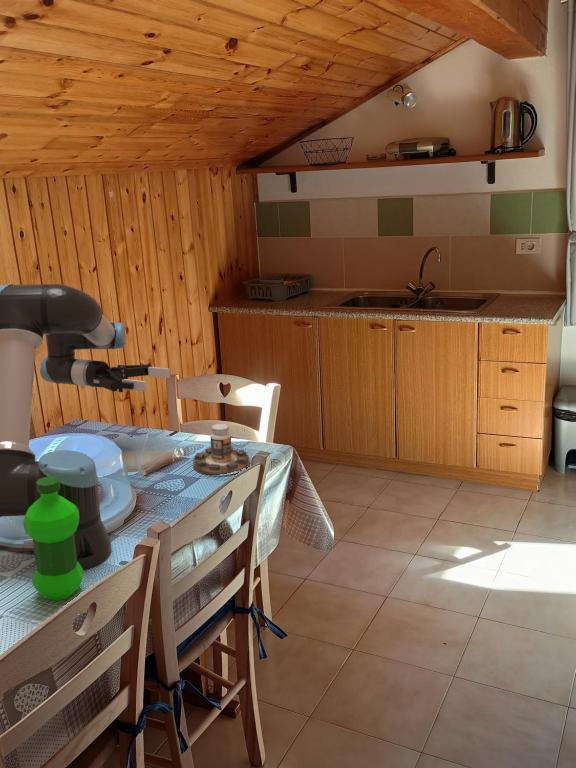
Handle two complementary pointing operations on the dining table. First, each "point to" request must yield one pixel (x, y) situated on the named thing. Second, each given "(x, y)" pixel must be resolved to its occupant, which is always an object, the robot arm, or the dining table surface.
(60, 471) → the robot arm
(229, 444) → the pill bottle
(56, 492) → the plastic bottle
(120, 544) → the dining table surface
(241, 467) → the sprocket plate
